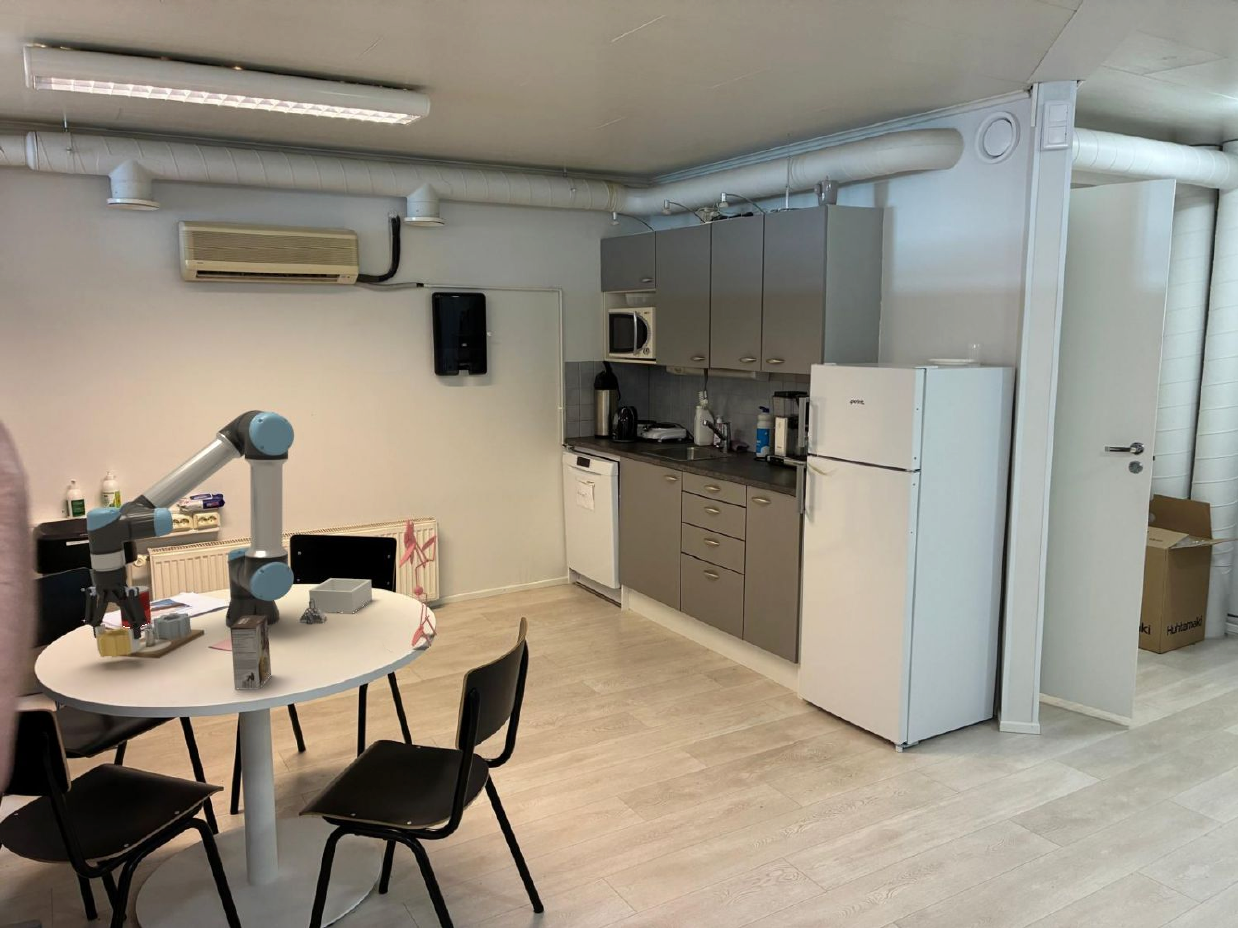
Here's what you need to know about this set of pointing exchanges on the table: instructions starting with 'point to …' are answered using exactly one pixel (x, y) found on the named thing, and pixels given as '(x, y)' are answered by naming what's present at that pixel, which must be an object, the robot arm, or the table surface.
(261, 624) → the coffee box
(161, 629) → the gear
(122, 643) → the ochre gear
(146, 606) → the canned food
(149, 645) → the peg
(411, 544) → the figurine
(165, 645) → the gear board
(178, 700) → the table surface
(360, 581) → the box
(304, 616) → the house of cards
